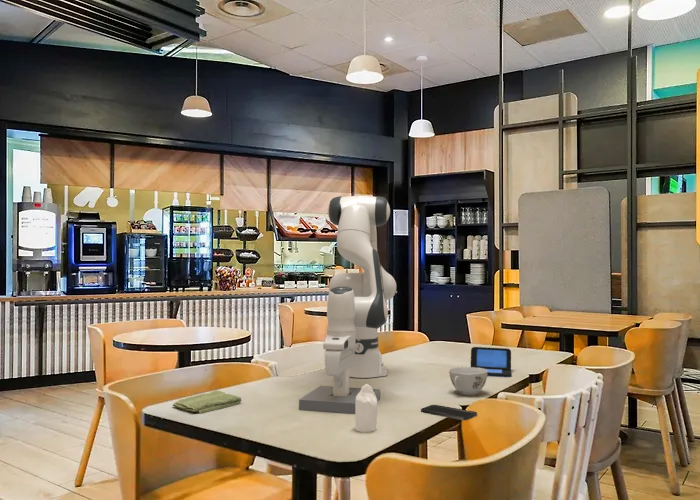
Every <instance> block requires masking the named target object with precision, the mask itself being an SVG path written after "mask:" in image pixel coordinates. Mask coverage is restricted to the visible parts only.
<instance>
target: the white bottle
mask: <svg viewBox="0 0 700 500" xmlns="http://www.w3.org/2000/svg"><path fill="white" fill-rule="evenodd" d="M360 388H361V390H360V392H359V393H358V395H357V396H356V402H355V414H354V417H355V418H354V420H355V421H354V422H355V423H354V424H355V425H354V427H355V431H357V432H360V433H373V432H375V431H377V428H378V426H377V423H378V401H377V398H376V395H375V393H374V391H373V389H374V388H373V387H372V386H371V385H369V384H368V383H366V384H363V385H362V386H361V387H360Z"/></svg>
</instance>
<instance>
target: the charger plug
mask: <svg viewBox="0 0 700 500" xmlns="http://www.w3.org/2000/svg"><path fill="white" fill-rule="evenodd" d="M341 381H342V386H341V387H340V388H339V387H335V380H334V376H332V386H333V396H342V397H348V396H349V387H350V377H349V368H348V369H347V370H345V371H344V372H342V376H341Z"/></svg>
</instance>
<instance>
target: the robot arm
mask: <svg viewBox="0 0 700 500" xmlns="http://www.w3.org/2000/svg"><path fill="white" fill-rule="evenodd" d="M327 215H328V219H329V221H330V223H332V224H333V225H334V226H337V231H336V232H337V233H336V234H337V235H336V249H337V251H338V253H339V254H340V256H341V257H342V258H343V259H344V260H346V261H347V262H350V263H352V264H353V265H355V266H357V267H359V268H361V269H362V271H364V272H343V273H338V274H334V275H333V276H332V277H331V279H330V280H329V284H328V290H329V292H328V296H327V302H326V303H327V304H326V319H327V327H326V338H324V339H325V340H324V341H323V342H322V344H323V345H322V349H323V350H324V366H325V367H324V369H325V374H326V376H328V377H329V376H332V377H333V376H334V380H335V387H339V388H340V387H341V386H342V381H341V376H342V372H344V371H345V370H347V369H348V368H349V378H357V379H358V378H363V379H369V378H370V379H371V378H377V377H386V376H388V367H387V366H385V365H384V362H383V359H382V358H383V356H382V352H381V351H380V349H379V337H378V329H379V328H381V327H382V326H384V325H385V323H386V322H387V321H388V317H389V310H388V304H387V303H386V301H389V300H392V298H394V296H395V295H396V293H397V282H396V280H395V278H394V277H393V275H391V274H390V273H389V272H387V271H386V270H385V268H384V267H383V266H382V264H381V259H380V256H379V252H378V236H377V235H378V234H377V233H378V232H377V227H378V228H379V227H381V226H385V224H387V222H388V221H389V218H390V215H391V208H390V204H389V201H388V200H387V199H386V197H382V196H372V195H363V194H362V195H349V196H347V195H346V196H341V195H339V196H336V197H335V196H334V197H333V198H332V199H331V200H330V202H329V204H328V208H327Z"/></svg>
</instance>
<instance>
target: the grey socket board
mask: <svg viewBox="0 0 700 500" xmlns="http://www.w3.org/2000/svg"><path fill="white" fill-rule="evenodd" d="M361 388H362V387H350V386H349V396H348V397H342V396H333V385H332V386H331V385H319V386H318V387H316V388H315V389H313V390H311V391H310V392H308V393H307V394H305V395H304V396H302V397H301V398H299V399H298V410H299V411H313V412H323V413H325V412H326V413H338V414H353V415H355V402H356V396H357V395H358V393H359V392H360V390H361ZM372 389H373V391H374V393H375V395H376V398H377V402H378V401H379V400H380V399H381V389H380V388H379V389H378V388H372Z"/></svg>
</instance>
